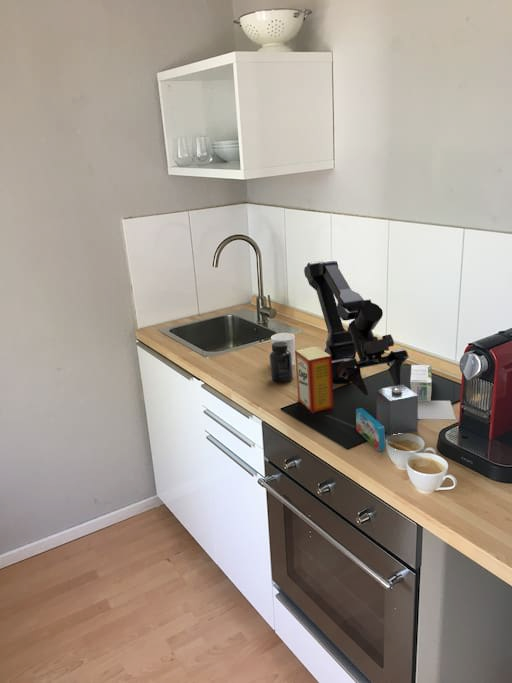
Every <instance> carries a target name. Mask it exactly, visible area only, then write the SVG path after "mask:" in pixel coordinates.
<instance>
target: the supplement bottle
mask: <svg viewBox="0 0 512 683" xmlns="http://www.w3.org/2000/svg"><path fill="white" fill-rule="evenodd" d="M269 367H270V376H271V377H270V378H271V381H272V382H273V383H274V384H287V383H291V381H293V379H294V372H293V370H294V369H293V366H292V357H291V353H290V352H289V351H288V347H287V343H286V342H276V343H273V344H272V343H271V352H270V353H269Z"/></svg>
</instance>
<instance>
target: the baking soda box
mask: <svg viewBox="0 0 512 683" xmlns="http://www.w3.org/2000/svg"><path fill="white" fill-rule="evenodd" d="M295 366H296V367H295V368H296V385H297V398H298V399H297V400H298V402H299V401H300V402H301V403H302V404H303V405H305V406H306V407H307V408H308V409H309V410H310V411H311V412H318V411H322V410H326V411H328V410H327V409H330V410H332V409H333V408H334V390H333V383H332V362H331V356H330V355H329V354H328V353H326V352H325V350H324V349H322V348H320V347H319V346H317V345H313V346H309V347H305V348H299V349H295ZM300 402H299V403H300ZM301 403H300V404H301ZM302 404H301V405H302ZM303 405H302V406H303ZM311 412H310V413H311ZM322 412H323V411H322ZM318 413H319V412H318Z"/></svg>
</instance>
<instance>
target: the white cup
mask: <svg viewBox="0 0 512 683" xmlns="http://www.w3.org/2000/svg"><path fill="white" fill-rule="evenodd" d="M295 338H296V337H295V334H293V333H290V332H280V333H275V334H272V335H271V337H270V341H271V345H272V344H273V343H276V342H286V343H287V347H288V351H289V352H290V353H291V357H292V367H293V366H295V364H296V356H295V350H296V344H295V340H296V339H295Z"/></svg>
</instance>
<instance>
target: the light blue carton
mask: <svg viewBox="0 0 512 683" xmlns="http://www.w3.org/2000/svg"><path fill="white" fill-rule="evenodd" d="M355 422H356V423H355V426H356V431H357V432H358V433H359V434H360V435H361V436H362V437H363V438H364V439H365V440H366V441H367V442H368V443H369V444H370V445H372V447H374V449H376V450H377V451H378V452H382V451H385V450H386V432H385V428H384V426H383V425H381V424H380V423H379V422H378V421H377V419H376V418H374V417H373V416H372V415H371V414H370V413H368V411H366V410H365V409H364V408H363V407H359V408H356V409H355Z"/></svg>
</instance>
